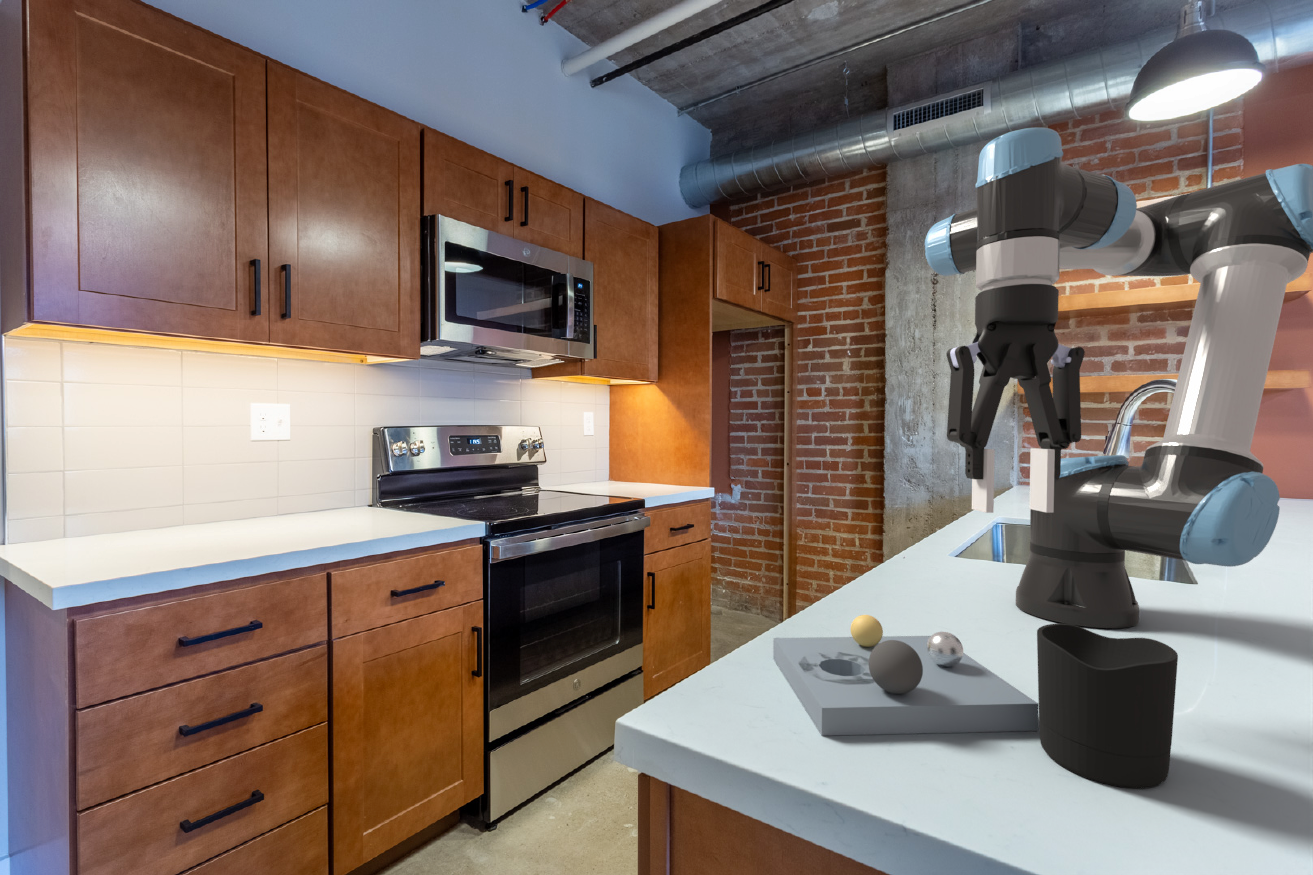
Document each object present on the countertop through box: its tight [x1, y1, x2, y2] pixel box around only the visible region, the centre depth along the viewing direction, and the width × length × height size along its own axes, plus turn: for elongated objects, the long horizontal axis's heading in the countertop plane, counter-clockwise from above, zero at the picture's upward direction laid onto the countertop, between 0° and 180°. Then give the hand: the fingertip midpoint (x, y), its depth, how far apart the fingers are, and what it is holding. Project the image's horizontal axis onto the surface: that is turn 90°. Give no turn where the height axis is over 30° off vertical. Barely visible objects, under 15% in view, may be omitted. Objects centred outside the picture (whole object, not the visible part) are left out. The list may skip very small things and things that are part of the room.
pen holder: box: [1036, 623, 1179, 789], centre depth 52 cm, size 9×9×10 cm
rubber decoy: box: [869, 640, 923, 694], centre depth 59 cm, size 5×5×5 cm
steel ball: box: [927, 631, 964, 667], centre depth 65 cm, size 4×4×4 cm
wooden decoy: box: [850, 614, 884, 647], centre depth 71 cm, size 4×4×4 cm
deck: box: [772, 635, 1039, 736], centre depth 65 cm, size 20×18×2 cm
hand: (1011, 510), depth 65 cm, fingers open, 6 cm apart
